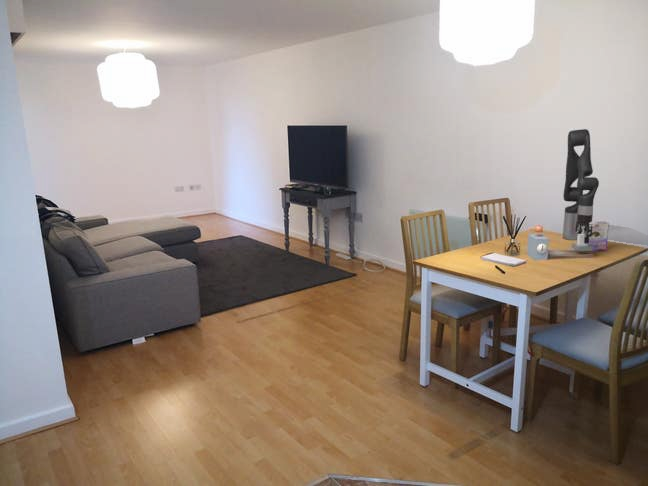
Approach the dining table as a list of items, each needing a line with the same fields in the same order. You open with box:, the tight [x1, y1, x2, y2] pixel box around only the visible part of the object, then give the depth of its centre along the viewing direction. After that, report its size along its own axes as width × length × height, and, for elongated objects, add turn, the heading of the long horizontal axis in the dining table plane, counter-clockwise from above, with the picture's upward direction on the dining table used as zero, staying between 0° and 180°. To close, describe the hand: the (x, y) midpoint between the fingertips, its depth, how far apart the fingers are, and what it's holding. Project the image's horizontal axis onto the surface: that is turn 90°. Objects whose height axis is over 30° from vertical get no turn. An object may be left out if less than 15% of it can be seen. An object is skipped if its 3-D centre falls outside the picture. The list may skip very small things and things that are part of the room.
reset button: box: [534, 225, 544, 233], centre depth 280 cm, size 4×4×3 cm
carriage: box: [571, 234, 594, 252], centre depth 281 cm, size 8×8×8 cm
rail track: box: [547, 248, 596, 260], centre depth 283 cm, size 10×26×4 cm, turn 89°
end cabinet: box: [526, 233, 550, 261], centre depth 282 cm, size 13×7×12 cm, turn 179°
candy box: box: [582, 220, 610, 252], centre depth 292 cm, size 14×6×16 cm, turn 84°
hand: (582, 241), depth 281 cm, fingers open, 8 cm apart
